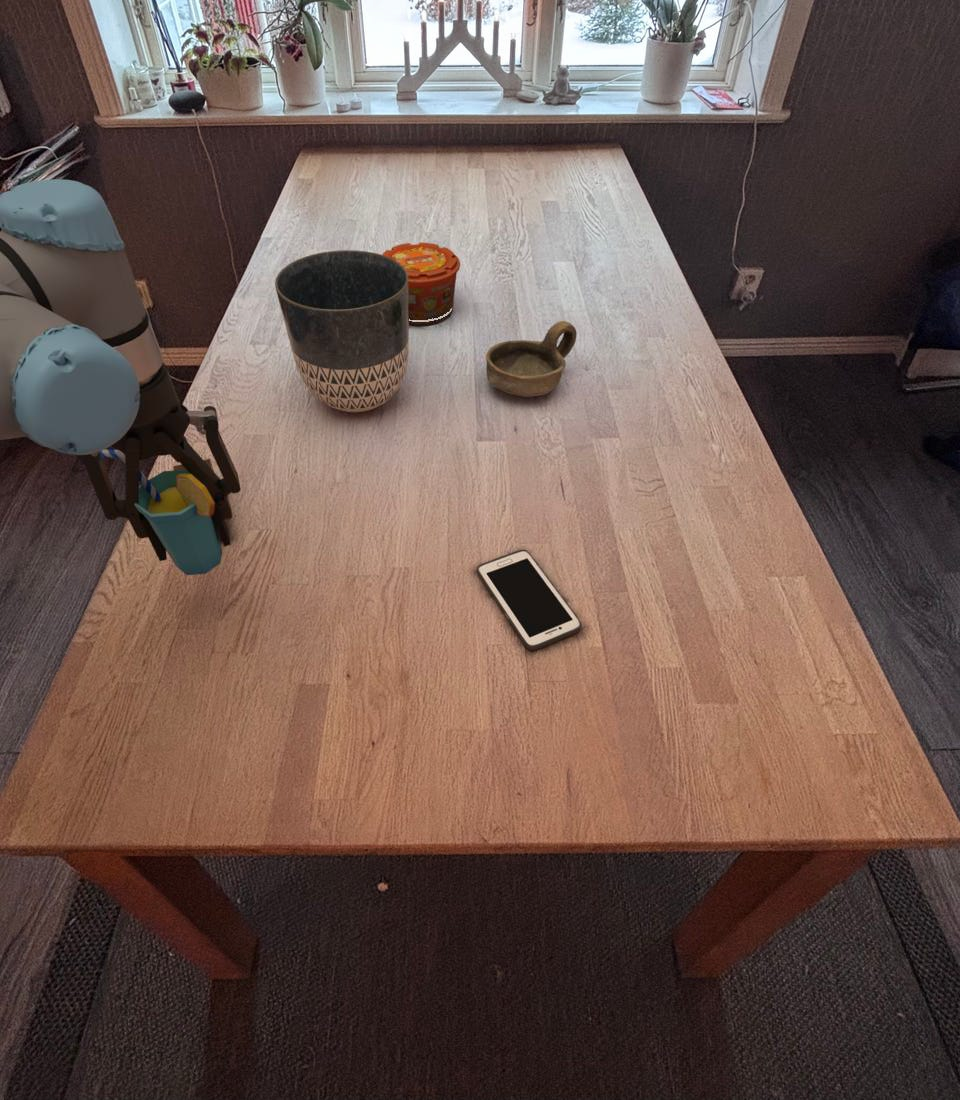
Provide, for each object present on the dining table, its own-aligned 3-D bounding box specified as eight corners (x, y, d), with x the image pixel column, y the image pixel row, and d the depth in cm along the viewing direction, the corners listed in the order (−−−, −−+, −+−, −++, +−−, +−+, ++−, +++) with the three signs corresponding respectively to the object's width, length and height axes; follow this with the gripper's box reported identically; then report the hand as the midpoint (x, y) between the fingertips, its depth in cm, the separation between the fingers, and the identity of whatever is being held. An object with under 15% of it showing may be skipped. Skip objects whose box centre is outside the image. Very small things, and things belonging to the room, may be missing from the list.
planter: (403, 440, 109) (394, 315, 93) (285, 429, 110) (255, 304, 94) (424, 373, 122) (418, 254, 106) (318, 365, 123) (297, 245, 107)
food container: (412, 339, 130) (409, 285, 122) (366, 307, 138) (360, 254, 130) (476, 314, 137) (477, 261, 129) (428, 285, 145) (426, 233, 137)
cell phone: (525, 552, 92) (525, 547, 91) (583, 630, 83) (584, 626, 83) (474, 570, 90) (474, 565, 89) (529, 653, 81) (529, 649, 80)
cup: (120, 568, 78) (65, 468, 68) (159, 523, 84) (113, 423, 73) (229, 594, 76) (190, 495, 65) (262, 546, 81) (231, 447, 70)
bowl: (468, 380, 121) (469, 328, 113) (547, 353, 127) (552, 303, 120) (512, 419, 113) (515, 366, 106) (593, 388, 120) (602, 337, 112)
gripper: (226, 333, 67) (274, 505, 83) (7, 368, 62) (105, 542, 79) (235, 373, 62) (284, 546, 79) (-1, 414, 57) (105, 589, 74)
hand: (194, 544), depth 79 cm, fingers closed on cup, 6 cm apart
